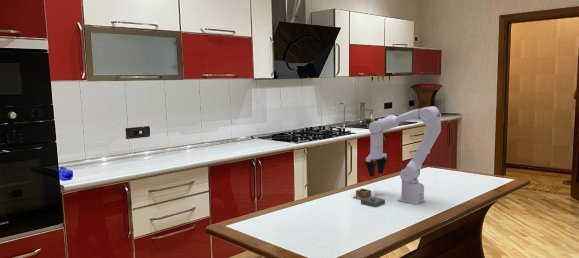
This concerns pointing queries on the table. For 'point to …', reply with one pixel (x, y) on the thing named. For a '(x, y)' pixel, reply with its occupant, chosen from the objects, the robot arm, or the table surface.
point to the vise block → (372, 201)
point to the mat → (357, 198)
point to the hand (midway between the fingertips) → (376, 174)
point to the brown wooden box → (363, 193)
